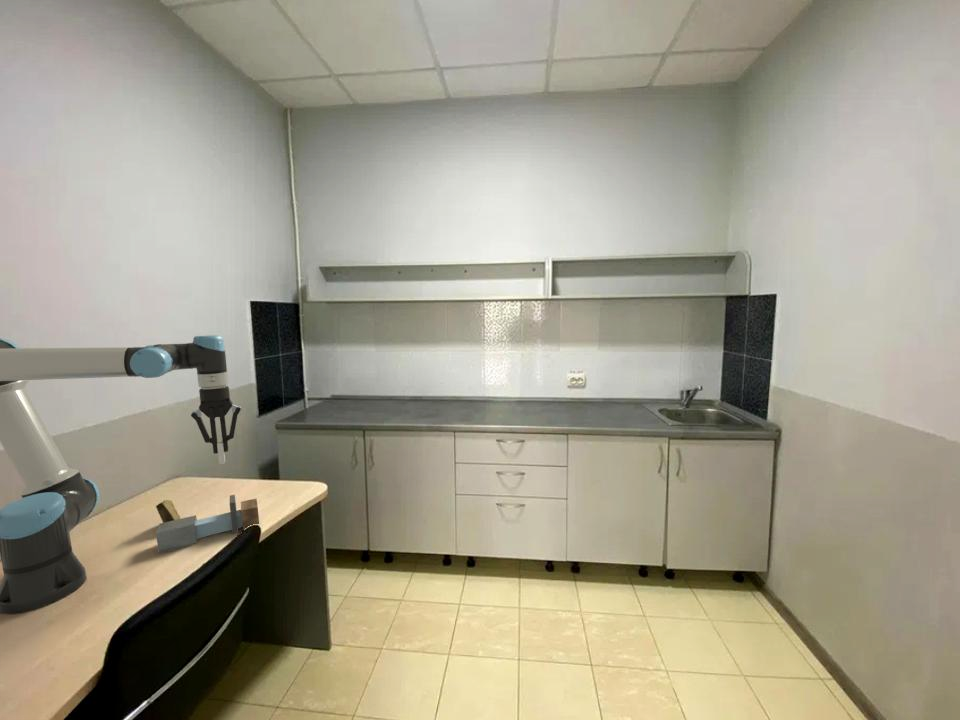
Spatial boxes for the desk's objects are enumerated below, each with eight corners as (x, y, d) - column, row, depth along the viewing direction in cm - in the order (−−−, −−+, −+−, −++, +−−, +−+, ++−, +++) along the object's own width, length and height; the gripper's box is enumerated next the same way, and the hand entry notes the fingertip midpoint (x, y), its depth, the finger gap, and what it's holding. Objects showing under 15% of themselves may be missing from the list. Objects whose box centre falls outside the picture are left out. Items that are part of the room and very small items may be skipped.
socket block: (243, 532, 128) (241, 510, 127) (242, 522, 134) (240, 501, 133) (259, 527, 130) (257, 506, 129) (258, 518, 136) (256, 498, 135)
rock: (160, 514, 137) (140, 525, 127) (176, 491, 138) (158, 500, 128) (189, 530, 138) (173, 542, 128) (205, 508, 139) (190, 518, 130)
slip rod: (181, 546, 120) (177, 515, 119) (184, 536, 126) (180, 506, 125) (252, 528, 129) (249, 498, 128) (251, 519, 135) (248, 491, 134)
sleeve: (158, 553, 118) (155, 533, 117) (162, 543, 123) (159, 523, 122) (196, 543, 122) (194, 524, 121) (198, 534, 128) (196, 515, 127)
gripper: (186, 391, 117) (195, 471, 120) (239, 386, 124) (246, 461, 127) (188, 387, 124) (197, 463, 126) (238, 382, 130) (246, 454, 133)
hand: (222, 462), depth 126 cm, fingers closed
